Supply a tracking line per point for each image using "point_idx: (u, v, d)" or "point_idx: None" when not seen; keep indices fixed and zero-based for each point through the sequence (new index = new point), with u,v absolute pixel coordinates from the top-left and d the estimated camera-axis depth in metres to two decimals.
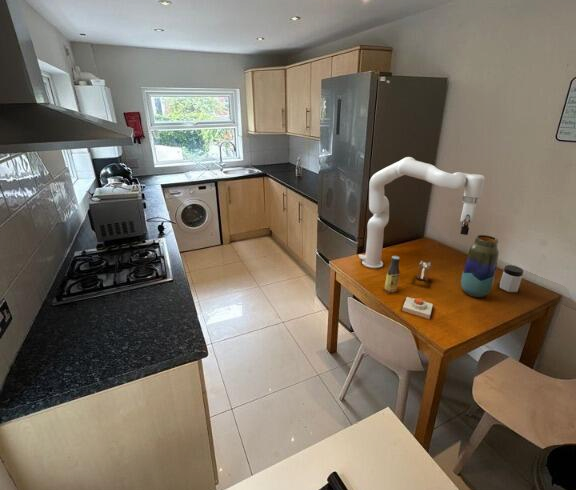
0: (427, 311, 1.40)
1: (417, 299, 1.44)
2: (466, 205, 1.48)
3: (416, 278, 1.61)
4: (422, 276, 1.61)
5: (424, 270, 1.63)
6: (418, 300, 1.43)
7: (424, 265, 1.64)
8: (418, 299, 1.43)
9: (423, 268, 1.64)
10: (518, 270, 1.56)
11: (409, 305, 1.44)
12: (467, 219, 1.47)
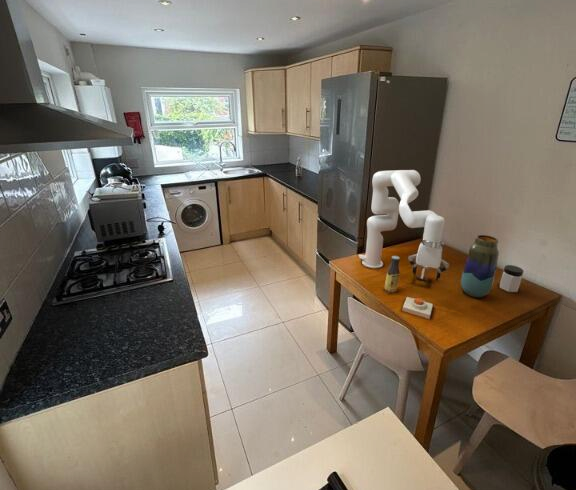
0: (427, 311, 1.40)
1: (417, 299, 1.44)
2: None
3: (416, 278, 1.61)
4: (422, 276, 1.61)
5: (424, 270, 1.63)
6: (418, 300, 1.43)
7: None
8: (418, 299, 1.43)
9: (423, 268, 1.64)
10: (518, 270, 1.56)
11: (409, 305, 1.44)
12: (410, 256, 1.40)
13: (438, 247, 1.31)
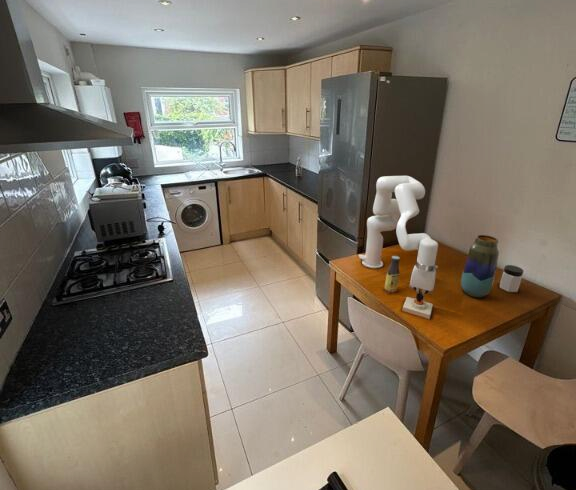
0: (427, 311, 1.40)
1: None
2: None
3: None
4: None
5: None
6: None
7: None
8: None
9: None
10: (518, 270, 1.56)
11: (409, 305, 1.44)
12: None
13: (431, 270, 1.34)
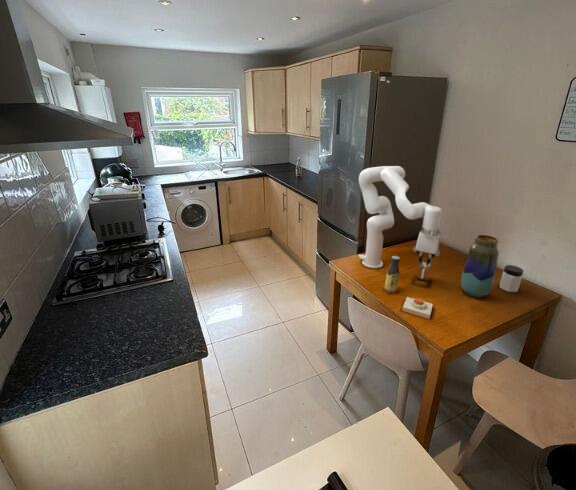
0: (427, 311, 1.40)
1: (417, 299, 1.44)
2: None
3: (416, 278, 1.61)
4: (422, 276, 1.61)
5: (424, 270, 1.63)
6: (418, 300, 1.43)
7: (424, 265, 1.64)
8: (418, 299, 1.43)
9: (423, 268, 1.64)
10: (518, 270, 1.56)
11: (409, 305, 1.44)
12: (414, 247, 1.57)
13: (436, 234, 1.48)
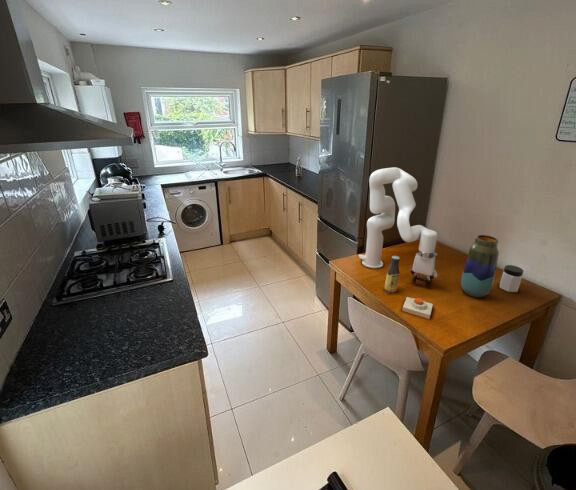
0: (427, 311, 1.40)
1: (417, 299, 1.44)
2: None
3: (416, 278, 1.61)
4: (422, 276, 1.61)
5: None
6: (418, 300, 1.43)
7: None
8: (418, 299, 1.43)
9: None
10: (518, 270, 1.56)
11: (409, 305, 1.44)
12: (409, 267, 1.62)
13: (431, 257, 1.52)
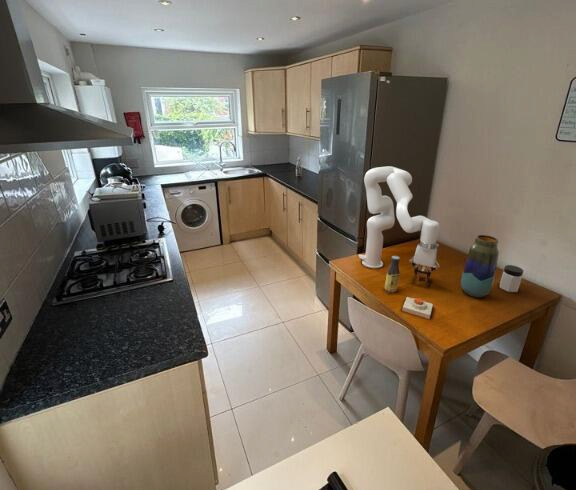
0: (427, 311, 1.40)
1: (417, 299, 1.44)
2: None
3: (417, 270, 1.58)
4: (423, 270, 1.59)
5: (425, 267, 1.62)
6: (418, 300, 1.43)
7: None
8: (418, 299, 1.43)
9: (423, 266, 1.63)
10: (518, 270, 1.56)
11: (409, 305, 1.44)
12: (410, 258, 1.59)
13: (433, 248, 1.49)
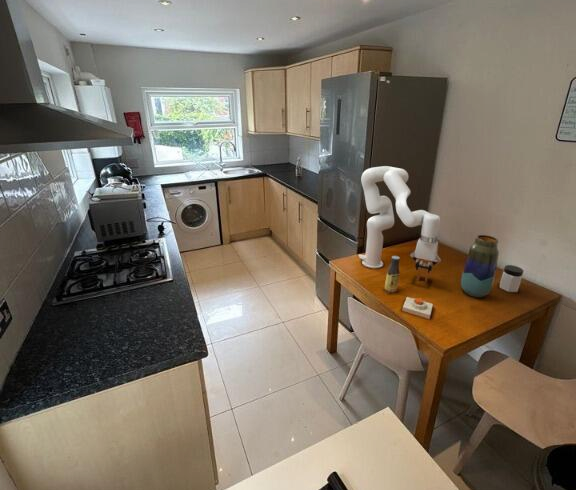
0: (427, 311, 1.40)
1: (417, 299, 1.44)
2: None
3: (418, 265, 1.58)
4: None
5: (425, 265, 1.62)
6: (418, 300, 1.43)
7: None
8: (418, 299, 1.43)
9: (424, 265, 1.63)
10: (518, 270, 1.56)
11: (409, 305, 1.44)
12: (411, 253, 1.58)
13: (434, 242, 1.49)
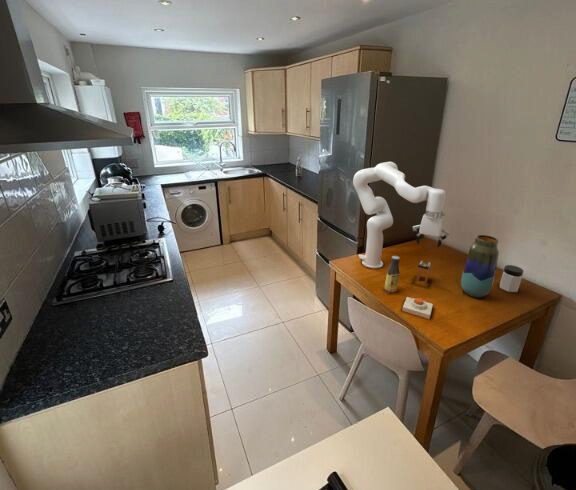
0: (427, 311, 1.40)
1: (417, 299, 1.44)
2: None
3: (418, 265, 1.58)
4: None
5: (425, 265, 1.62)
6: (418, 300, 1.43)
7: None
8: (418, 299, 1.43)
9: (424, 265, 1.63)
10: (518, 270, 1.56)
11: (409, 305, 1.44)
12: (414, 226, 1.57)
13: (439, 217, 1.48)
